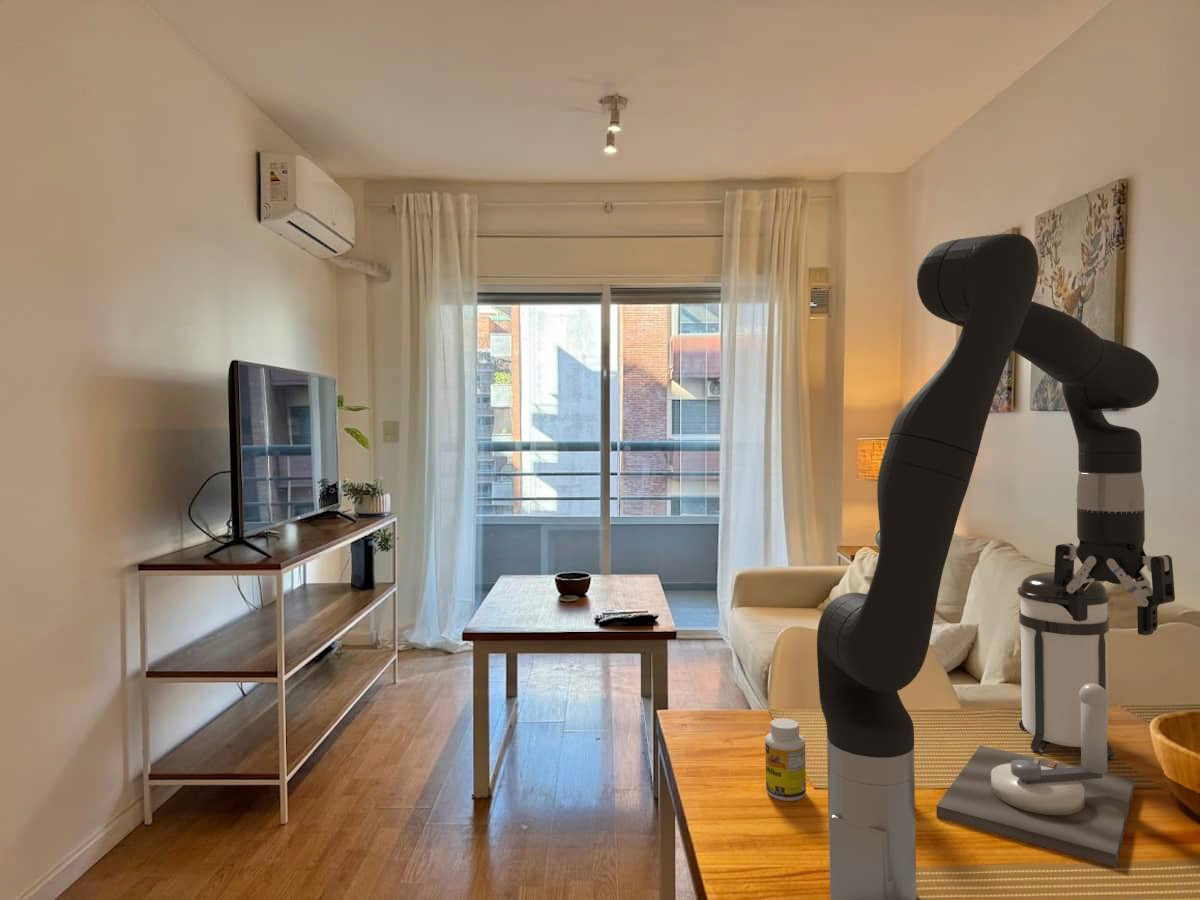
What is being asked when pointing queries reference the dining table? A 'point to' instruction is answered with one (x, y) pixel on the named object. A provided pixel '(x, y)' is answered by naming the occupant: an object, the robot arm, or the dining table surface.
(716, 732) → the dining table surface
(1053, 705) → the coffee press
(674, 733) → the dining table surface
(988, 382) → the robot arm
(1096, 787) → the dial board
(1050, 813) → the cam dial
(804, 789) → the supplement bottle
